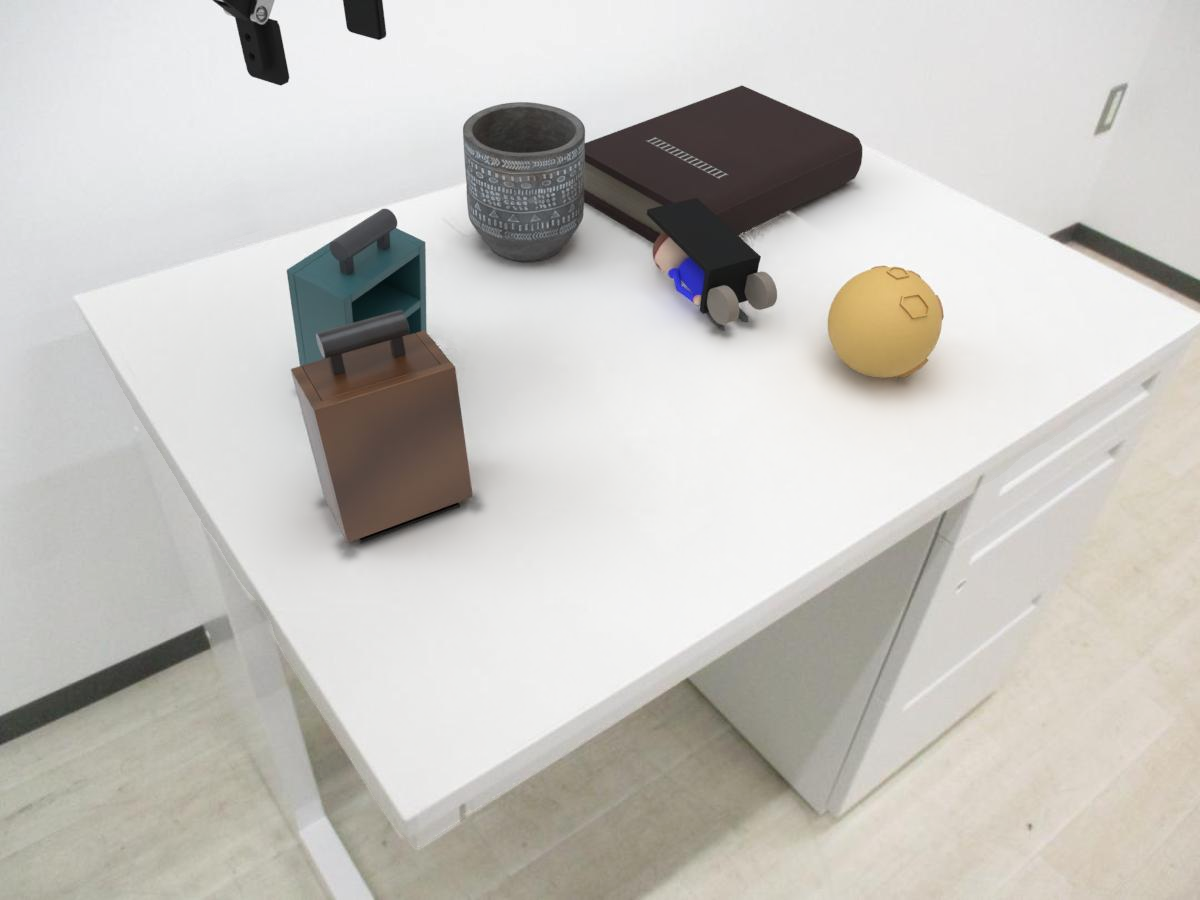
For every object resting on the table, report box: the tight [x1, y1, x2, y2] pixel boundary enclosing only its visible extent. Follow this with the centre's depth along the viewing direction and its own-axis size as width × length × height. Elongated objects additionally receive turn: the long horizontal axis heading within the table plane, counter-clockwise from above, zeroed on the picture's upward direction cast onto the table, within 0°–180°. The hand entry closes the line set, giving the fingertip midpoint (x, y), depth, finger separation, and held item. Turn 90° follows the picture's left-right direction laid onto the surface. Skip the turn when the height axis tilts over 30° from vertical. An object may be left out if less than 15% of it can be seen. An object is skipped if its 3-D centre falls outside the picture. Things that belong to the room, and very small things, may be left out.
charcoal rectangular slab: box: [358, 502, 461, 544], centre depth 74 cm, size 6×8×1 cm
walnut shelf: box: [290, 310, 474, 543], centre depth 69 cm, size 15×10×6 cm
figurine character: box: [647, 198, 778, 331], centre depth 93 cm, size 7×8×15 cm
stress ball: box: [827, 265, 945, 379], centre depth 85 cm, size 10×10×10 cm
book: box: [584, 85, 863, 244], centre depth 110 cm, size 28×20×6 cm
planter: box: [462, 101, 586, 263], centre depth 98 cm, size 12×12×13 cm
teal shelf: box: [286, 208, 428, 366], centre depth 79 cm, size 15×10×6 cm
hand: (320, 56), depth 66 cm, fingers open, 9 cm apart
